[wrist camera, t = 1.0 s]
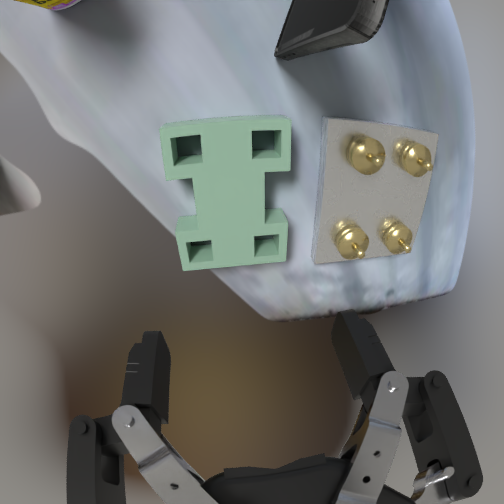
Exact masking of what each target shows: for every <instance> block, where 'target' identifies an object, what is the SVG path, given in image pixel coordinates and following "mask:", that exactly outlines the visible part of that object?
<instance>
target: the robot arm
mask: <svg viewBox="0 0 504 504" xmlns="http://www.w3.org/2000/svg"><path fill="white" fill-rule="evenodd" d="M331 339H332V343H333V346H334V349H335V351H336V354H337V356H338V359H339V362H340V364H341V367H342V370H343V372H344V375H345V378H346V380H347V383H348V386H349V388H350V391H351V394H352V397H353V399H354V400H356V399H360V398H361V399H362V402H363V404H362V406H361V409H360V412H359V414H358V417H357V419H356V422H355V424H354V427H353V429H352V432H351V434H350V436H349V438H348V440H347V442H346V443H345V445H344V447H343V448H342V451H341V453H340V455H339V457H338V458H335V457H325V455H324V453H323V454H319V455H315V456H311V457H306V458H301V459H299V460H296V461H294V462H292V463H289V464H287V465H285V466H282V467H280V468H277V469H269V468H257V467H239V468H226V469H224V472H222V473H219V474H217V475H214V476H213V477H211V478H209V479H208V480H206V481H205V480H204V479H203V478H202V477H201V476H200V475H199V474H198V473H197V472H196V471H195V470H194V469H193V468H192V467H191V466H190V465H189V464H188V463H187V462H186V461H185V460H184V459H183V458H182V457H181V456H180V455H179V454H178V452H177V451H176V450H175V449H174V448H173V447H172V445H171V444H170V443H169V442H168V441H167V439H166V438H165V437H164V436H163V434H162V433H161V424H168V412H169V384H170V366H171V357H170V352H169V348H168V346H167V344H166V341H165V339H164V337H163V334H162V332H161V331H145V332H144V334H143V338H142V343H135V344H134V346H133V347H132V349H131V350H130V352H129V356H128V362H127V363H128V365H127V367H126V373H125V380H124V387H123V393H122V401H121V404H120V406H119V408H118V409H116V410H115V412H114V413H113V414H111V415H109V416H105V417H101V418H96V419H91V418H90V417H89V416H86V415H79V416H77V417H75V418H74V419H73V420H72V422H71V424H70V430H69V440H68V453H67V504H126V497H125V483H124V454H127V453H131V455H132V456H133V457H134V459H135V460H136V462H137V463H138V465H139V467H138V468H139V471H140V472H141V474H142V475H143V477H144V478H145V479H146V481H147V482H148V483H149V484H150V485H151V487H152V488H153V489H154V491H155V492H156V493H157V494H158V495H159V496H160V498H161V499H162V500H163V501H164V502H165V503H166V504H450V503H451V502H454V501H458V500H461V499H465V498H468V497H472V496H473V495H475V494H476V493H477V492H478V491H479V489H480V488H481V486H482V482H483V475H482V471H481V468H480V464H479V461H478V457H477V454H476V451H475V448H474V445H473V442H472V439H471V436H470V433H469V431H468V428H467V425H466V423H465V420H464V417H463V415H462V412H461V410H460V407H459V405H458V403H457V400H456V398H455V396H454V393H453V391H452V389H451V386H450V384H449V383H448V380H447V378H446V376H445V375H444V374H443V373H441V372H440V371H430V372H429V373H427V374H426V376H425V377H405V376H404V375H403V374H402V373H400V372H397V371H396V370H395V369H394V367H393V365H392V363H391V361H390V359H389V357H388V355H387V353H386V351H385V349H384V347H383V345H382V343H380V339H379V338H378V336H377V333H376V332H375V330H374V328H373V326H372V325H371V324H370V323H369V322H368V321H367V320H366V319H364V318H363V319H359V318H358V315H357V314H356V312H355V310H353V309H351V310H346V311H340V312H338V313H337V315H336V318H335V322H334V325H333V329H332V332H331ZM401 417H402V418H403V421H404V424H405V427H406V430H407V433H408V436H409V439H410V443H411V446H412V449H413V453H414V456H415V460H416V463H417V467H418V470H419V473H418V474H417V475H416V477H415V479H414V483H413V487H414V492H413V495H412V496H411V498H409V497H407V496H405V495H403V494H401V493H400V492H397V491H396V490H394V489H392V488H390V487H388V486H387V485H385V484H384V483H385V480H386V478H387V475H388V473H389V470H390V467H391V465H392V462H393V459H394V456H395V453H396V449H397V447H398V444H399V441H400V437H401V433H402V430H401V428H400V427H399V424H400V421H401Z"/></svg>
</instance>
